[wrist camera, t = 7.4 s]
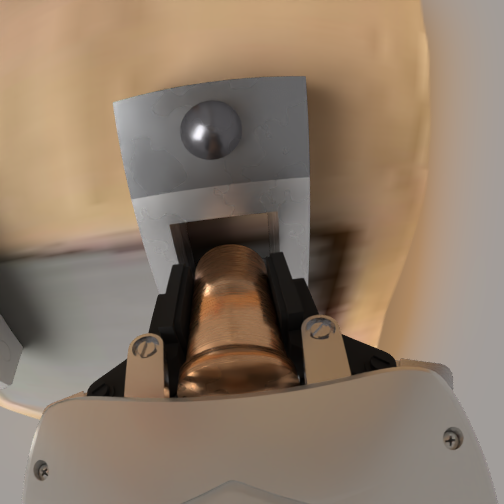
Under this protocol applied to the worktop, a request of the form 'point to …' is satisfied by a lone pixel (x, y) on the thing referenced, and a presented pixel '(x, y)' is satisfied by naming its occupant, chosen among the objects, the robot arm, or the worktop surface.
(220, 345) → the pin
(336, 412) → the robot arm
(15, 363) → the grey toaster
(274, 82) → the grey latch plate
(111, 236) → the worktop surface
